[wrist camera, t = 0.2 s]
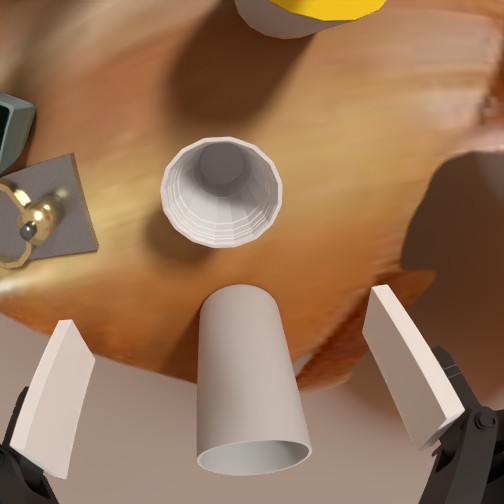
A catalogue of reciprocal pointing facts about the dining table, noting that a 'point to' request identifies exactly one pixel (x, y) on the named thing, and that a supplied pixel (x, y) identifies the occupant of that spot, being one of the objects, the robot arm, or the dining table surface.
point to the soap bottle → (301, 15)
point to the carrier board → (64, 193)
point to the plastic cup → (221, 192)
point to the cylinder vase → (246, 387)
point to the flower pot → (13, 128)
